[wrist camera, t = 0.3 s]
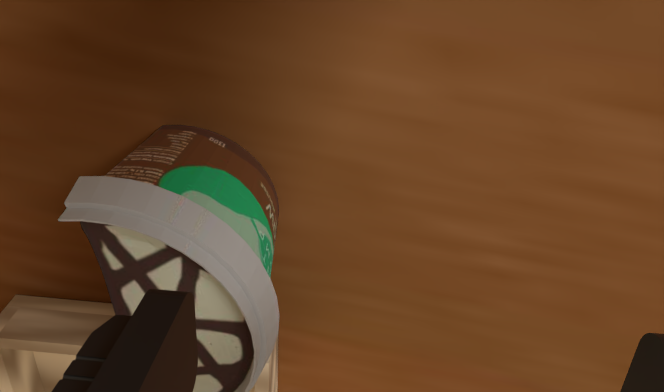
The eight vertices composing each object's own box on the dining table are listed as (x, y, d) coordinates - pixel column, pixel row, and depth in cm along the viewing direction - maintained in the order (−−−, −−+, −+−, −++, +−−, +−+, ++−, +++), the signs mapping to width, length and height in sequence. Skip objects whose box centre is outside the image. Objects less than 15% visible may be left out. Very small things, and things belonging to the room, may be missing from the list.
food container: (317, 288, 33) (296, 441, 24) (214, 295, 34) (158, 445, 25) (278, 83, 27) (232, 190, 18) (153, 97, 27) (51, 206, 19)
